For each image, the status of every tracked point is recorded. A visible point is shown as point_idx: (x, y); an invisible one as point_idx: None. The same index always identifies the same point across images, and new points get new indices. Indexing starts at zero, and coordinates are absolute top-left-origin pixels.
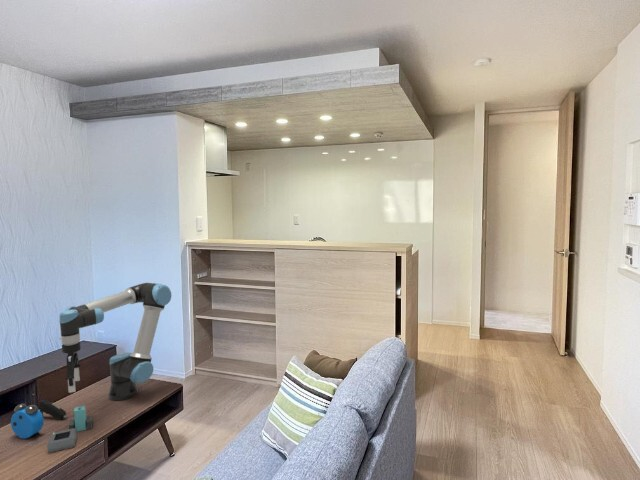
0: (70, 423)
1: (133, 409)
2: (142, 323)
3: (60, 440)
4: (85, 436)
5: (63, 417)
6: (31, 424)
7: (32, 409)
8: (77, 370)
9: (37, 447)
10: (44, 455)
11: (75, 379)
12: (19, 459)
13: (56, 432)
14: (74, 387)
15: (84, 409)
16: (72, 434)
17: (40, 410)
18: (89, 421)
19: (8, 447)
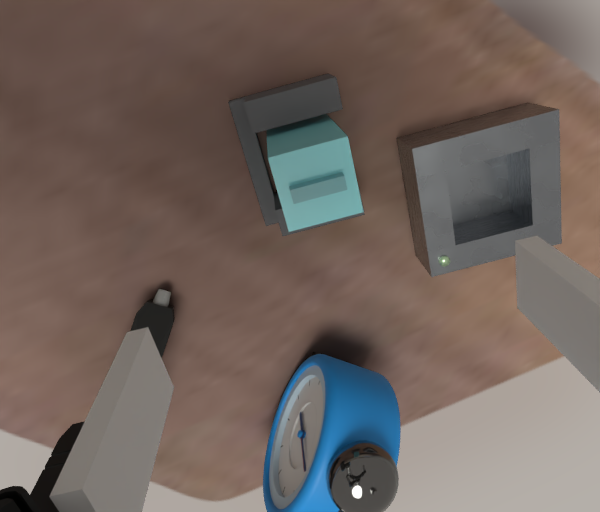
0: None
1: None
2: None
3: (548, 185)
4: (418, 80)
5: (167, 304)
6: (397, 407)
7: (389, 476)
8: (108, 461)
9: (452, 298)
10: None
11: (159, 382)
12: (535, 326)
13: (433, 250)
14: (572, 268)
15: (343, 136)
16: (498, 139)
17: None
18: (338, 88)
19: (405, 415)
